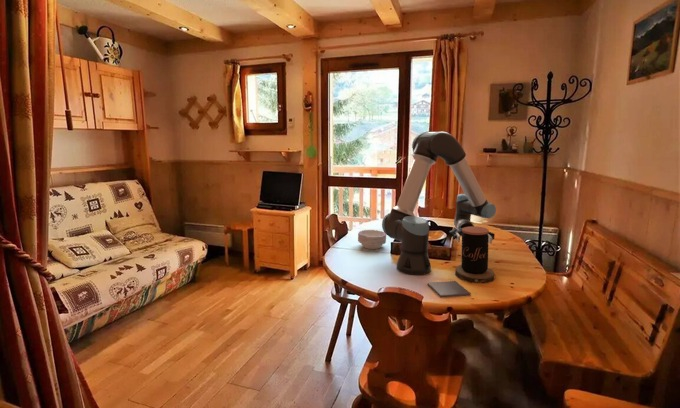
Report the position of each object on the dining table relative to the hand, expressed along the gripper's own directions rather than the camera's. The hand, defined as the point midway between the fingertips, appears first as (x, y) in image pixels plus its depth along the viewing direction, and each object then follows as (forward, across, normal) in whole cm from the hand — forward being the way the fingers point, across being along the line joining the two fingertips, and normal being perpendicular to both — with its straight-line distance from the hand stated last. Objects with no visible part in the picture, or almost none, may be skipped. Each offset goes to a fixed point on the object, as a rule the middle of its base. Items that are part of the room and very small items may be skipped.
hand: (475, 240), depth 158 cm
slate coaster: (+23, +14, -14) cm, 31 cm away
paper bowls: (-29, +47, -15) cm, 57 cm away
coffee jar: (+6, +1, -12) cm, 13 cm away
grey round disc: (+6, +1, -15) cm, 16 cm away
